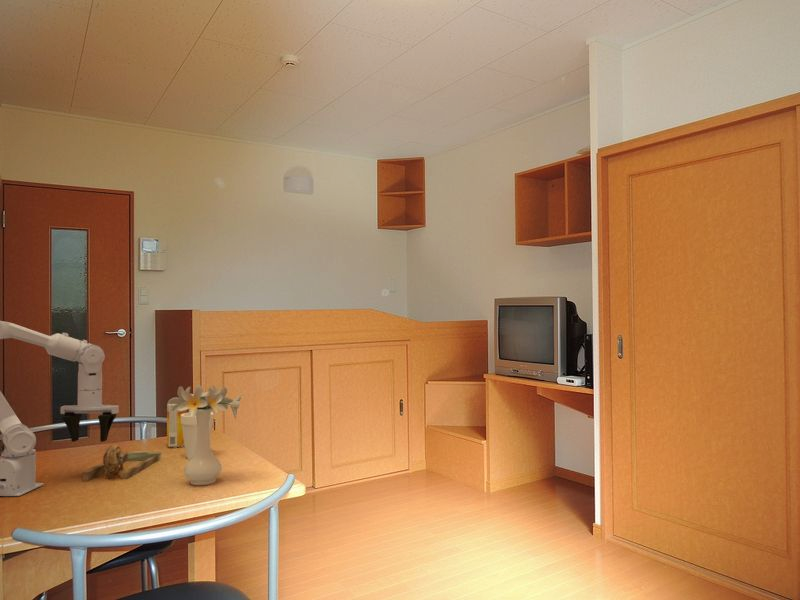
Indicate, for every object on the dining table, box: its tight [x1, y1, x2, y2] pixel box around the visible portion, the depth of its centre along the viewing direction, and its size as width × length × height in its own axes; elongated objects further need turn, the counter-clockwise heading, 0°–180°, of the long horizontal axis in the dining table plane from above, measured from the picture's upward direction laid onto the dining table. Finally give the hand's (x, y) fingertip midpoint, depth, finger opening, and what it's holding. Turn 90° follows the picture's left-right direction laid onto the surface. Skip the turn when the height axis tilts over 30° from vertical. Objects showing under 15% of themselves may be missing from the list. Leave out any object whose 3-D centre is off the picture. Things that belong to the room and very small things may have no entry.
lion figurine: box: [102, 444, 125, 480], centre depth 160 cm, size 15×5×9 cm, turn 27°
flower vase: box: [167, 384, 244, 486], centre depth 153 cm, size 13×18×25 cm
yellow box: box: [166, 403, 188, 448], centre depth 193 cm, size 6×6×15 cm
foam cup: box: [181, 411, 215, 459], centre depth 179 cm, size 10×9×13 cm
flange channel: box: [81, 450, 162, 482], centre depth 165 cm, size 22×11×2 cm, turn 178°
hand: (89, 440), depth 156 cm, fingers open, 7 cm apart
